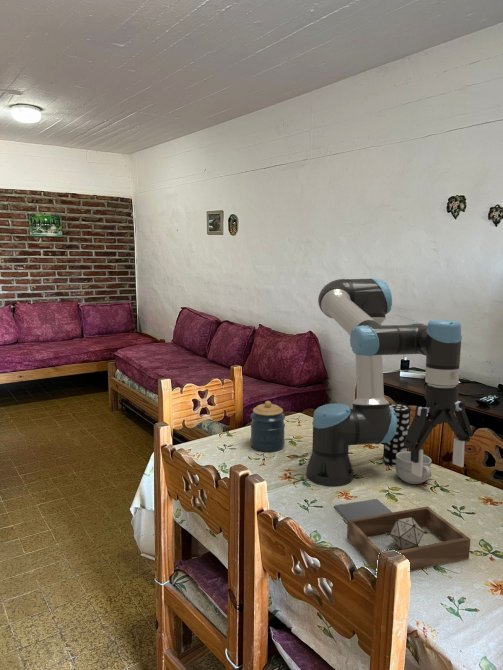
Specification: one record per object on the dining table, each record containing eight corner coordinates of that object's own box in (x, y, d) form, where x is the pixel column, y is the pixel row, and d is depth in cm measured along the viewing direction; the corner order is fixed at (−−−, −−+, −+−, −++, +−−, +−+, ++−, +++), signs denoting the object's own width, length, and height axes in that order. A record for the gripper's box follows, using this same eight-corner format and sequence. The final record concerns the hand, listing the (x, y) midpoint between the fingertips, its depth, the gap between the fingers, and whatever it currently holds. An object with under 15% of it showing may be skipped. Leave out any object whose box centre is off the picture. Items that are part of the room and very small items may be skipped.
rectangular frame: (346, 538, 125) (347, 520, 124) (426, 523, 132) (427, 506, 131) (381, 577, 110) (382, 557, 109) (468, 558, 117) (470, 539, 116)
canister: (246, 450, 181) (247, 404, 178) (254, 438, 193) (254, 395, 190) (281, 454, 178) (282, 407, 175) (287, 441, 190) (287, 397, 188)
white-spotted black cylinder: (381, 464, 169) (384, 409, 166) (384, 455, 177) (387, 402, 174) (406, 468, 166) (410, 412, 163) (408, 459, 174) (412, 405, 171)
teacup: (389, 473, 163) (391, 450, 162) (421, 472, 164) (422, 449, 162) (406, 493, 149) (407, 468, 148) (440, 492, 150) (442, 467, 149)
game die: (412, 565, 120) (430, 549, 113) (379, 550, 121) (395, 533, 114) (416, 533, 127) (434, 516, 120) (385, 518, 128) (401, 501, 121)
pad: (334, 507, 140) (334, 505, 140) (376, 500, 145) (376, 498, 144) (354, 529, 129) (355, 527, 129) (400, 521, 133) (400, 519, 133)
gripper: (413, 393, 108) (410, 485, 111) (491, 382, 119) (486, 466, 121) (390, 386, 115) (387, 473, 118) (466, 377, 126) (462, 456, 128)
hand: (437, 470), depth 120 cm, fingers open, 13 cm apart
